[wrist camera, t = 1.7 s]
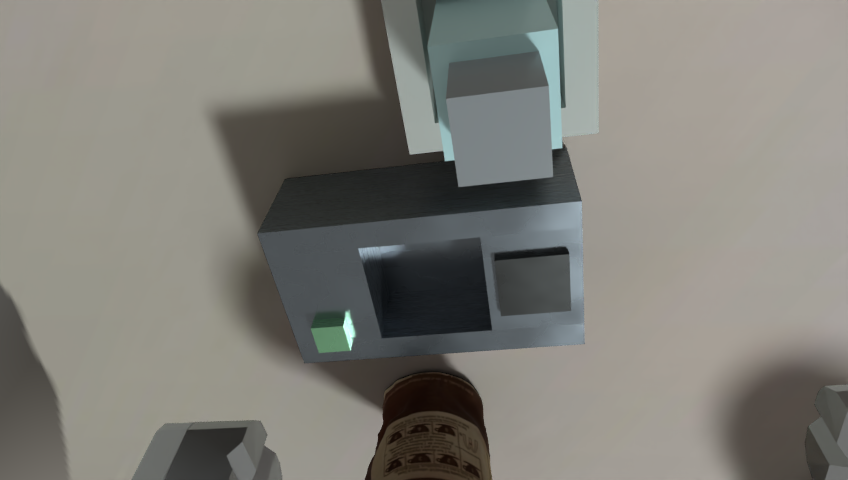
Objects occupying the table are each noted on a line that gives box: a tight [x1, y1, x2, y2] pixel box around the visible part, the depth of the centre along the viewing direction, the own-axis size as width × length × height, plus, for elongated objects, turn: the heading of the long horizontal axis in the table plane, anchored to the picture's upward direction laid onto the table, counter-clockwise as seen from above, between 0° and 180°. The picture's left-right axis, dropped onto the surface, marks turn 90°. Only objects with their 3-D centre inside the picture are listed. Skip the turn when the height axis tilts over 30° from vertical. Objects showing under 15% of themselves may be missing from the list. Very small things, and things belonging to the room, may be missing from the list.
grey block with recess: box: [257, 147, 585, 363], centre depth 31 cm, size 14×8×6 cm, turn 99°
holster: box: [381, 0, 599, 155], centre depth 26 cm, size 8×8×3 cm
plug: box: [427, 0, 562, 187], centre depth 22 cm, size 4×4×10 cm
